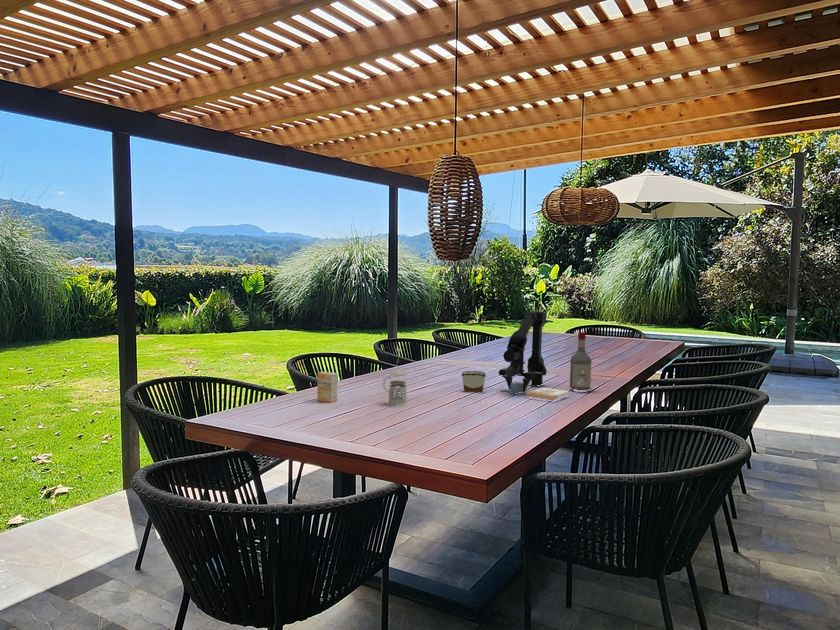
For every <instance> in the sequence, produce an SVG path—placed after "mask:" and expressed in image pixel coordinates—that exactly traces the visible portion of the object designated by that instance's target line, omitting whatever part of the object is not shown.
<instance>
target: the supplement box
mask: <svg viewBox="0 0 840 630" xmlns="http://www.w3.org/2000/svg"><path fill="white" fill-rule="evenodd" d="M338 375H339V373H337V372H331V371H330V372H329V371H325V370H324V371H318V372H317V397H316V399H317V401H319V402H324V403H325V402H326V403H330V404H331V403H334V402H337V401H338V381H339V380H338Z"/></svg>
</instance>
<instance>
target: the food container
mask: <svg viewBox="0 0 840 630" xmlns="http://www.w3.org/2000/svg"><path fill="white" fill-rule="evenodd" d="M460 376H461V377H462V384H463V393H470V392H483V393H484V385H485V378H487V374H486V372H484V371H480V370H465V371H463V372H462V373H461V375H460Z"/></svg>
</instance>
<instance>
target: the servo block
mask: <svg viewBox="0 0 840 630" xmlns="http://www.w3.org/2000/svg"><path fill="white" fill-rule="evenodd" d="M509 391H510V392H512V393H519V392H523V382H520V381H519V382H518V381H512V383H511V385H510V390H509ZM510 392H509V393H510ZM512 393H511V394H512ZM523 393H524V392H523Z"/></svg>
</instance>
